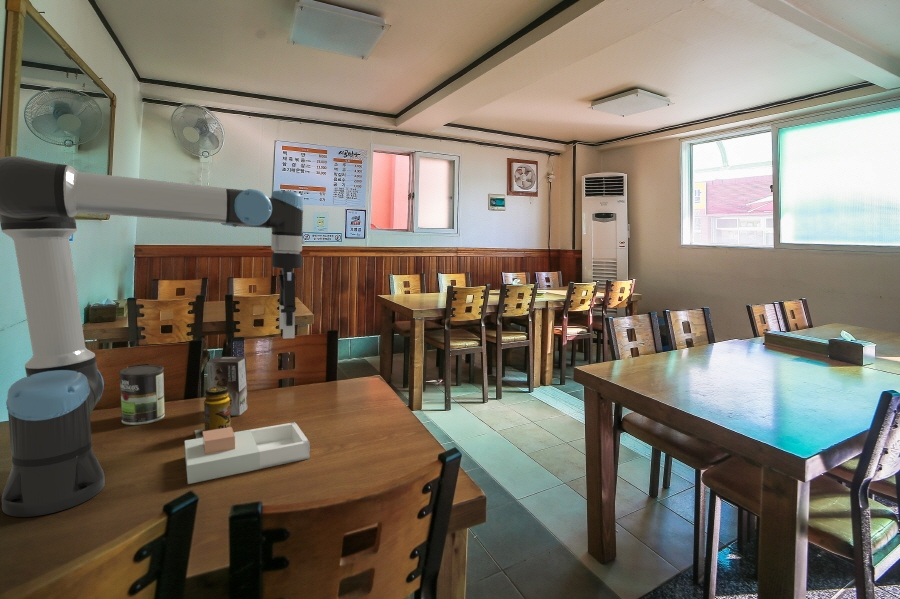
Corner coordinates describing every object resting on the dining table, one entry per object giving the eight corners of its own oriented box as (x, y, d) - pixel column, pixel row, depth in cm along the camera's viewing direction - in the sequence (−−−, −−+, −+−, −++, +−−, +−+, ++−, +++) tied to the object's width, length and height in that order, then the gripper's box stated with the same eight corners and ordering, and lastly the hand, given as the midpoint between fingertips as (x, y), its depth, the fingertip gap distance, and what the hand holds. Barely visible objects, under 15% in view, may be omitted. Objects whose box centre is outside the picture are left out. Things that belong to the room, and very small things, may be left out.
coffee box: (248, 408, 139) (247, 356, 137) (239, 416, 133) (238, 361, 131) (217, 408, 139) (216, 355, 137) (207, 415, 132) (206, 361, 130)
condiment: (233, 435, 120) (233, 390, 118) (197, 441, 115) (195, 395, 114) (229, 425, 126) (228, 383, 124) (194, 431, 121) (193, 387, 120)
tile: (204, 454, 100) (204, 441, 99) (203, 444, 105) (202, 431, 104) (235, 448, 103) (234, 436, 102) (231, 439, 108) (231, 426, 108)
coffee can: (140, 427, 122) (138, 376, 121) (112, 422, 125) (109, 371, 124) (174, 414, 132) (172, 367, 131) (147, 409, 135) (145, 363, 134)
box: (259, 468, 102) (259, 451, 102) (250, 445, 114) (249, 429, 114) (309, 458, 108) (309, 442, 108) (295, 436, 120) (295, 422, 119)
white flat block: (187, 484, 95) (187, 465, 94) (185, 457, 107) (184, 440, 106) (259, 468, 102) (259, 451, 102) (250, 445, 114) (249, 429, 114)
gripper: (308, 254, 109) (307, 342, 111) (297, 252, 131) (296, 325, 133) (274, 252, 106) (274, 343, 108) (269, 251, 128) (269, 325, 130)
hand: (286, 333), depth 121 cm, fingers open, 13 cm apart
